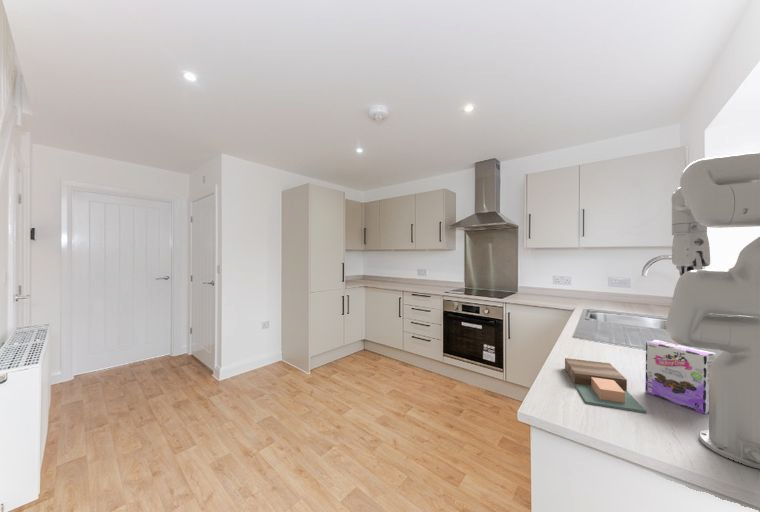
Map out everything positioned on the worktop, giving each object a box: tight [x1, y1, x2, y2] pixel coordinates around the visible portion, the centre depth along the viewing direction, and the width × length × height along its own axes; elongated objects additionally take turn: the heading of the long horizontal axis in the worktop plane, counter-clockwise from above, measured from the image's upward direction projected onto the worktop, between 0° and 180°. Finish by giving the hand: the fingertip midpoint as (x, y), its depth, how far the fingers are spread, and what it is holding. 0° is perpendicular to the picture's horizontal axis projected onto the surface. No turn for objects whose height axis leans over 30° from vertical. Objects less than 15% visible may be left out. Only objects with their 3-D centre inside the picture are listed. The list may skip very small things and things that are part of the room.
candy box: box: [645, 339, 717, 415], centre depth 86 cm, size 14×6×16 cm, turn 21°
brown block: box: [564, 357, 628, 391], centre depth 101 cm, size 15×14×4 cm
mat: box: [574, 384, 647, 414], centre depth 88 cm, size 12×14×1 cm
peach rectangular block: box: [591, 377, 625, 403], centre depth 89 cm, size 9×6×3 cm, turn 158°
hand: (688, 288), depth 90 cm, fingers closed
